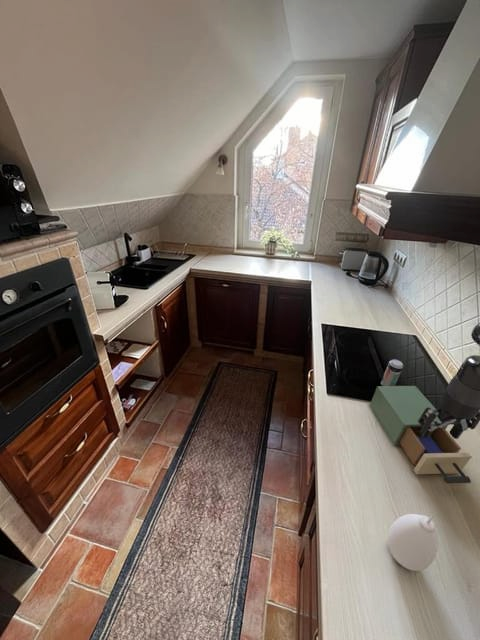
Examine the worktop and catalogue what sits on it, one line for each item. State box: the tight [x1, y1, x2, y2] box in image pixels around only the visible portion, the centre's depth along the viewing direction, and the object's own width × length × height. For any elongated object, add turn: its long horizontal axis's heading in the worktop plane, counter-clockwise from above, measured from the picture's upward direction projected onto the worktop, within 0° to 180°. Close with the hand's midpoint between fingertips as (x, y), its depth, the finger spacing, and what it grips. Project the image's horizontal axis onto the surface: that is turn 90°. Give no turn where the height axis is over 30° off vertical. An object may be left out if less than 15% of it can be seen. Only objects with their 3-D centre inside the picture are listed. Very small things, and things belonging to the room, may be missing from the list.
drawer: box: [399, 426, 473, 485], centre depth 74 cm, size 20×13×8 cm, turn 2°
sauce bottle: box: [387, 513, 439, 572], centre depth 52 cm, size 8×8×18 cm
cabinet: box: [369, 385, 449, 446], centre depth 84 cm, size 16×14×10 cm
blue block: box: [417, 436, 443, 457], centre depth 75 cm, size 6×4×4 cm
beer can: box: [380, 358, 404, 386], centre depth 100 cm, size 5×5×12 cm
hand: (438, 436), depth 71 cm, fingers open, 8 cm apart
